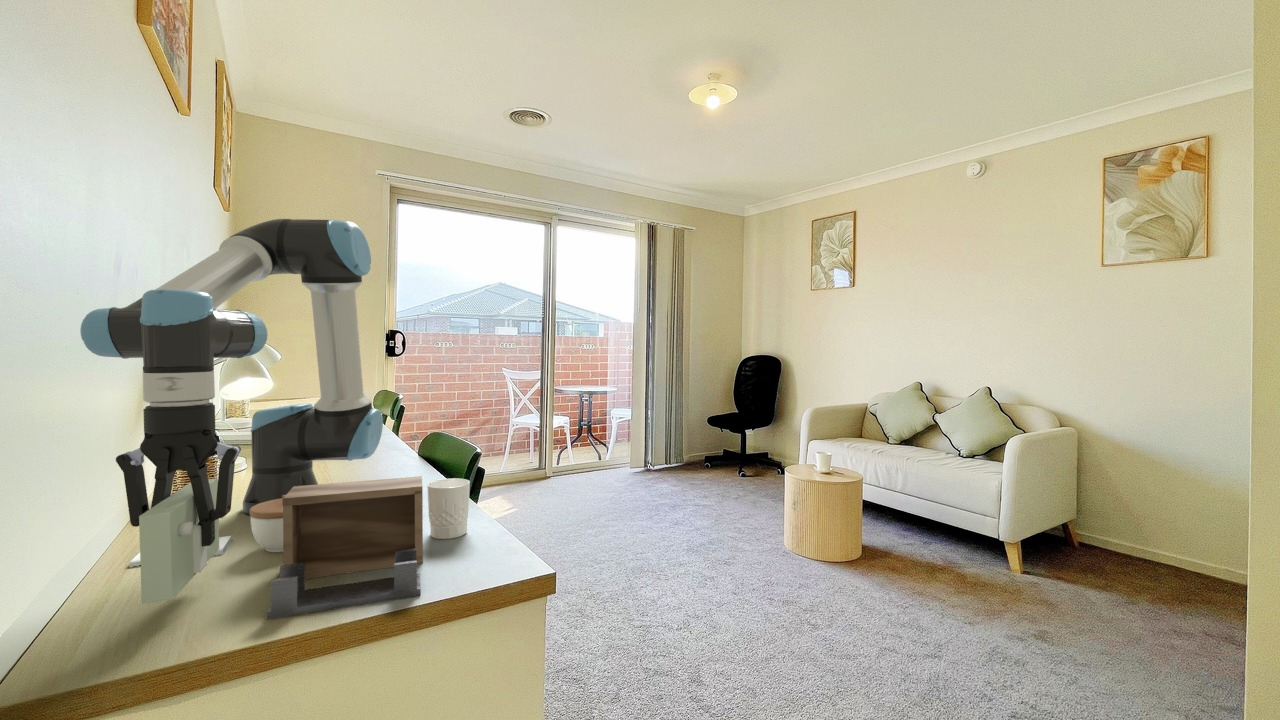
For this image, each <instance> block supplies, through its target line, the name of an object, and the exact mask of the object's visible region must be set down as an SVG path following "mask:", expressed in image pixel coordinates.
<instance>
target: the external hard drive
mask: <svg viewBox="0 0 1280 720" xmlns="http://www.w3.org/2000/svg"><path fill="white" fill-rule="evenodd" d="M232 541H233V535H228V536H227V535H226V536H219V549H218V550H217V552H216V553H215V554H214V555H213V556H212V557H214V556H215V557H216V556H223V555H224V554H225V553H226V550H227V549H228V547H229V546H230V544H231V542H232ZM139 565H140V552H138V554H136V555H135V556H134V557H133V558H132V559H131V560H130V561H129V568H134V567H133V566H137V567H140V566H139Z"/></svg>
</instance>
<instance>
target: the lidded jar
mask: <svg viewBox="0 0 1280 720" xmlns="http://www.w3.org/2000/svg"><path fill="white" fill-rule="evenodd" d="M285 496H286V495H283V496H282V498H281V499H275V500H270V501H266V502H262V503H260V504H257V505H255V506H253V507H251V508H250V515H249V516H250V528H251V533H252V536H253V539H254V540H255V542H256V543H257V544H258V545H259V546H261V547H263V548H264V549H265V551H266V552H269V553H283V498H284V497H285Z"/></svg>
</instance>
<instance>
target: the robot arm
mask: <svg viewBox="0 0 1280 720" xmlns="http://www.w3.org/2000/svg"><path fill="white" fill-rule="evenodd" d="M371 256H372V255H371V250H370V247H369V242H368V240H367V238H366V235H365V233H363V231H362V229H361V228H360V227H359V226H358V225H357V224H356V223H355V222H353V221H348V220H337V219H304V218H302V219H298V218H297V219H295V218H294V219H293V218H291V219H290V218H278V219H277V218H276V219H270V220H266V221H263V222H259V223H257V224H254V225H252V226H249V227H246V228H244V229H242V230H240V231H238V232H236V233H234V234H232V235H230V236H229V237H226V238H225V239H224V240H223V241H222V242H221V243H220V245H219V248H218V251H216V252H214V253H212V254H211V255H209V256H207V257H206V258H204V259H203V260H201V261H199V262H198V263H196V264H194V265H192V266H191V267H190V268H188V269H186V270H185V271H183V272H182V273H179V274H178V275H176V276H175V277H173V278H172V279H170V280H169V281H167V282H165V283H164V284H162V285H160V286H159V287H156V288H155V289H149V290H147V291H146V292H144V293H143V294H142V297H140V298H139V299H138V300H136V301H133V302H132V303H130V304H129V305H126V306H125V307H116V306H111V307H108V308H107V307H106V308H97V309H94V310H92V311H90V312H88V314H86V315H85V317H84V318H83V319H82V322H81V323H80V338H81V340H82V342H83V344H84V345H85V347H86V348H87V350H89V352H91V353H92V354H94V355H96V356H99V357H103V358H121V359H125V360H126V359H134V358H135V359H142V361H143V366H142V392H143V393H142V394H143V396H142V398H143V401H144V402H145V403H149V405H147V406H145V408H143V435H144V437H143V440H142V442H141V443H140V446H139V448H136V449H134V450H131V451H127V452H124V453H121V454H119V455H117V456H116V457H115V462H116V464H117V466H118V467H119V468H120V470H121V471H122V473H123V479H124V485H125V486H124V487H125V493H126V500H127V507H128V513H129V521H130V525H131V526H132V527H136V528H137V527H139V516H140V515H142V514H143V513H145V512H146V511H148V510H149V509H151V508H152V507H154V506H156V505H157V504H159V503H160V502H162V501H163V500H165V499H166V498H168V497H169V496H171V495H172V490H173V485H174V480H175V479H174V478H175V475H176V473H177V471H185V472H186V473H187V477H188V478H189V480H190V483H191V485H192V490H193V495H194V499H195V504H196V508H197V513H198V518H199V522H198V523H196V524H195V525H194V529H193V559H194V573H196V574H197V573H201V572H202V571H203V570H204V569H205V568H206V567H207V566H208V561H207V546H210V545H211V544H212V543H213V542H214V540H215V520H217V519H223V518H224V517H225V516H226V515H228V514H229V513H230V512H231V510H232V499H233V488H234V487H233V486H234V478H235V474H234V473H235V464H236V461H237V458H238V457H239V455H240V453H241V450H242V447H240V445H233V446H232V445H230V444H226V443H223V442H221V441H220V440H221V439H220V438H219V436H218V435H217V433H216V405H215V404H214V403H213V402H211V401H210V400H213V399H215V397H216V392H215V389H216V388H215V371H214V370H215V365H214V364H215V359H226V358H227V359H229V358H231V359H235V358H236V359H243V358H244V357H250V356H254V355H256V354H257V353H259V352H260V351H261V350H262V349H263V348H264V347H265V346H266V343H267V340H268V335H269V334H268V329H267V326H266V324H265V322H264V321H263V320H262V319H261V318H260V317H259V316H258V315H256V314H254V313H252V312H248V311H243V310H241V309H224V308H218V307H220V306H221V305H222V304H224V303H225V302H226V301H228V300H229V299H230V298H232V297H233V296H234V295H235V294H237V293H238V292H240V291H241V290H242V289H243V288H245V287H246V286H248V285H249V284H251V282H259V281H262V280H264V279H266V278H267V277H268V276H272V275H284V274H285V275H286V274H287V275H291V274H292V275H300V278H301V284H302V285H303V286H304V287H305V288H306V289H308V290H309V291H310V298H311V299H310V300H311V305H312V309H311V310H312V316H313V317H312V318H313V319H312V320H313V327H314V328H313V329H314V337H315V347H316V348H315V349H316V350H315V351H316V359H317V369H318V380H319V389H320V398H319V399H318V400H317V401H316V402H315V404H312V403H310V402H309V403H297V404H292V405H291V404H290V405H285V406H277V407H271V408H265V409H260V410H258V411H257V410H256V411H255V413H253V415H252V417H251V418H252V420H251V429H250V433H251V470H252V471H251V479H250V481H249V484H248V487H247V489H246V492H245V495H244V496H243V501H242V512H243V514H246V515H249V516H250V508H251V507H253V506H255V505H257V504H260V503H262V502H266V501H270V500H275V499H281V498H282V496H283V495H286V494H287V493H288V492H289V491H290V490H291V489H292V488H293V487H294V486H306V485H319V483H318V480H317V478H316V476H315V472H314V469H313V466H314V465H313V464H314V463H313V461H349V462H351V461H355V460H366V459H368V458H370V457H372V456H373V455H374V454H375V452H376V451H377V448H378V447H379V445H380V441H381V437H382V433H383V428H384V427H383V426H384V417H383V414H382V412H381V410H380V409H378V408H373V407H372V406H373V405H372V403H373V402H372V399H371V398H370V397H368V396H367V395H366V394H365V393H364V383H363V372H362V359H361V345H360V334H359V321H358V319H359V318H358V309H357V308H358V307H357V296H356V291H357V290H358V288H359V287H360V286H361V285H362V284H363V278H362V277H363V276H366V275H367V274H369V272H370V271H371V265H372V257H371ZM214 452H217V459H218V460H219V461H220V462H219V466H218V475H217V476H218V477H217V479H218V486H217V498H216V509H214V504H213V500H212V495H211V490H210V486H209V481H208V479H209V476H208V466H207V461H208V460H209V458H211V456H213V454H214ZM145 457H146V458H147V460H149V461H150V462H151V463H152V464H153V465H154V466H155V471H154V472H155V473H154V480H155V482H154V487H153V493H152V494H153V495H152V498H151V499H152V500H151V505H149V499H148V498H149V497H148V491H147V483H146V478H145V477H146V476H145V471H144V466H143V463H144V462H145Z"/></svg>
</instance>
